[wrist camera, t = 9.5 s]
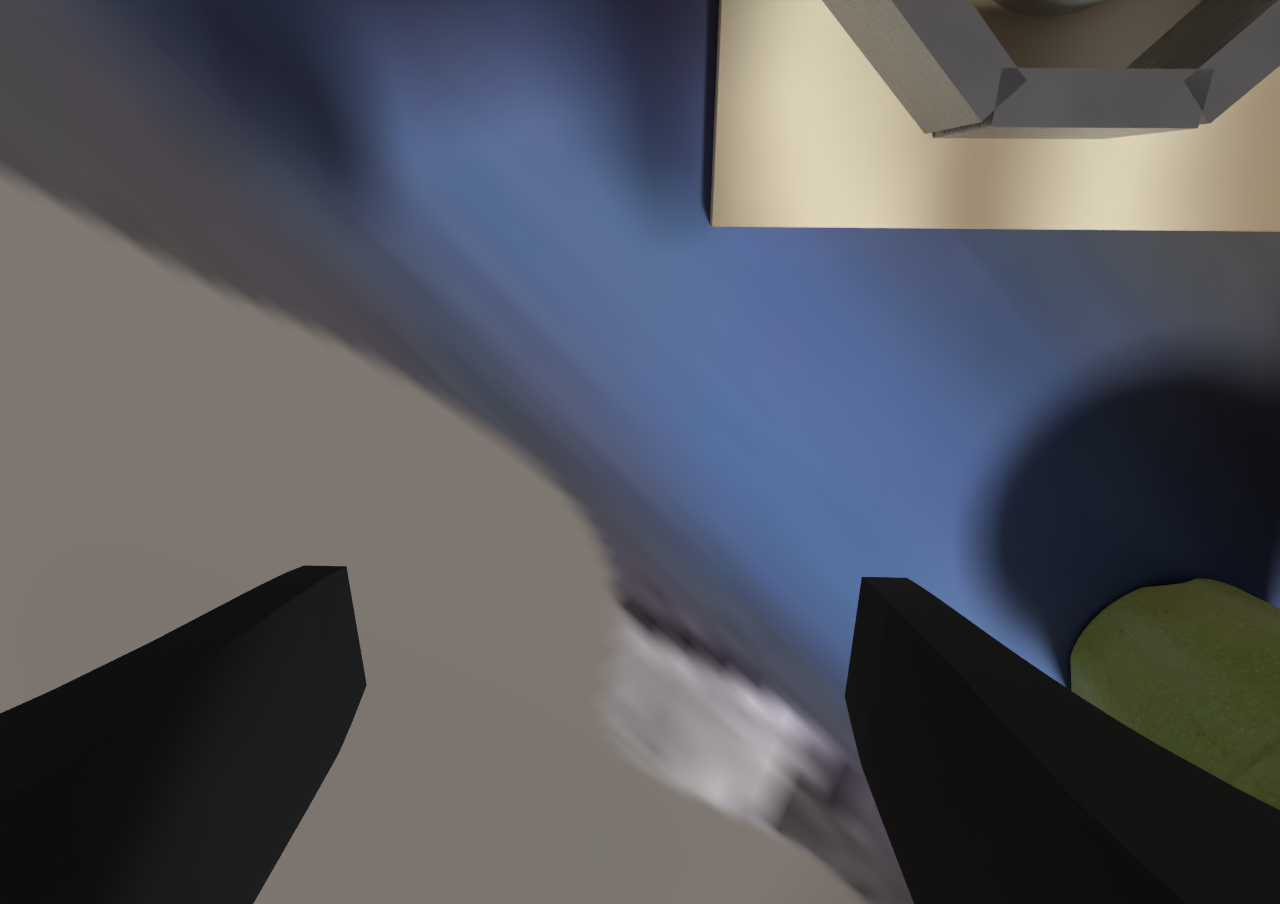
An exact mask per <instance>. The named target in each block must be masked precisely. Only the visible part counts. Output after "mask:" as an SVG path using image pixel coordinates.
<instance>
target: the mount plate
mask: <svg viewBox="0 0 1280 904" xmlns="http://www.w3.org/2000/svg"><path fill="white" fill-rule="evenodd" d="M970 1H971V3H972V4H973V5H974V7H975V8H976V10H977V11H978V12H979V14H980V15H981V17H982V18H983V20H984V21H985V22H986V24H987V25H988V27H989V28H990V29H991V31H992V32H993V34H994V35H995V37H996V38H997V39H998V41H999V42H1000V44H1001V45H1002V46H1003V48H1004V49H1005V51H1006V52H1007V54H1008V55H1009V56H1010V58H1011V59H1012V61H1013V62H1014V63H1015V65H1016V66H1017V68H1122V69H1125V68H1127V67H1128V66H1129V65H1130V64H1131V63H1132V62H1133V61H1135V60H1136V59H1137V58H1138V57H1139V56H1140V55H1141V54H1142V53H1144V52H1145V51H1146V50H1147V49H1148V48H1149V47H1150V46H1151V45H1153V44H1154V43H1155V42H1156V41H1157V40H1158V39H1159V38H1161V37H1162V36H1163V35H1164V34H1165V33H1166V32H1167V31H1168V30H1170V29H1171V28H1172V27H1173V26H1174V25H1175V24H1176V23H1177V22H1179V21H1180V20H1181V19H1182V18H1183V17H1184V16H1185V15H1187V14H1188V13H1189V12H1190V11H1191V10H1192V9H1193V8H1194V7H1196V6H1197V5H1198V4H1199V3H1200V2H1201V1H1202V0H1106V1H1104V2H1102V3H1099V4H1097V5H1095V6H1092V7H1090V8H1087V9H1084V10H1081V11H1079V12H1076V13H1072V14H1067V15H1062V16H1053V17H1037V16H1028V15H1024V14H1020V13H1016V12H1013V11H1011V10H1008V9H1006V8H1004V7H1002V6H1000V5H998V4H997V3H995V2H994V1H992V0H970ZM933 134H934V132H932V133H927V134H924V132H923V131H922V130H921V129H920V127H919V126H918V125H917V123H916V122H915V121H914V119H913V118H912V117H911V116H910V114H909V113H908V112H907V110H906V109H905V108H904V106H903V105H902V104H901V103H900V101H899V100H898V99H897V97H896V96H895V95H894V93H893V92H892V91H891V90H890V88H889V87H888V86H887V84H886V83H885V82H884V80H883V79H882V78H881V77H880V75H879V74H878V73H877V71H876V70H875V69H874V67H873V66H872V65H871V64H870V62H869V61H868V60H867V58H866V57H865V56H864V54H863V53H862V52H861V51H860V49H859V48H858V47H857V45H856V44H855V43H854V41H853V40H852V39H851V38H850V36H849V35H848V34H847V32H846V31H845V30H844V28H843V27H842V26H841V25H840V23H839V22H838V21H837V19H836V18H835V17H834V15H833V14H832V13H831V12H830V10H829V9H828V8H827V6H826V5H825V4H824V2H823V1H822V0H719V19H718V43H717V67H716V91H715V115H714V139H713V163H712V187H711V210H710V225H711V226H714V227H828V228H943V229H1057V230H1171V231H1280V66H1279V67H1278V68H1276V69H1275V70H1274V71H1273V72H1272V73H1270V74H1269V75H1268V76H1267V77H1266V78H1264V79H1263V80H1262V81H1261V82H1260V83H1258V84H1257V85H1256V86H1255V87H1254V88H1252V89H1251V90H1250V91H1249V92H1248V93H1246V94H1245V95H1244V96H1243V97H1242V98H1240V99H1239V100H1238V101H1237V102H1235V103H1234V104H1233V105H1232V106H1231V107H1229V108H1228V109H1227V110H1226V111H1225V112H1223V113H1222V114H1221V115H1220V116H1219V117H1217V118H1216V119H1215V120H1214V121H1213V122H1211V123H1209V124H1200V125H1199V127H1198V128H1197V129H1188V130H1179V131H1170V132H1161V133H1152V134H1144V135H1135V136H1126V137H1117V138H1108V139H991V138H933Z"/></svg>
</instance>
